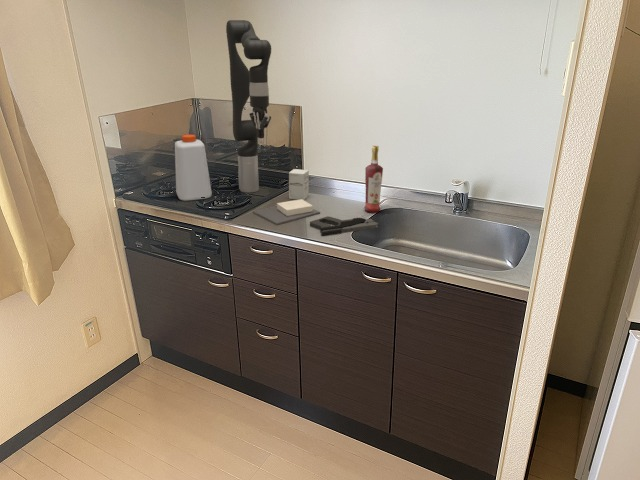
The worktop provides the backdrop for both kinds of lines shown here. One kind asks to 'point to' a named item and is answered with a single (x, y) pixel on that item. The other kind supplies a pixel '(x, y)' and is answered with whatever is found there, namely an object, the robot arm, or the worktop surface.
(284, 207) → the tile
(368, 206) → the liquor
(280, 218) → the mat
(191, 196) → the plastic bottle
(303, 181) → the supplement box
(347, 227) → the pistol
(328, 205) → the worktop surface
